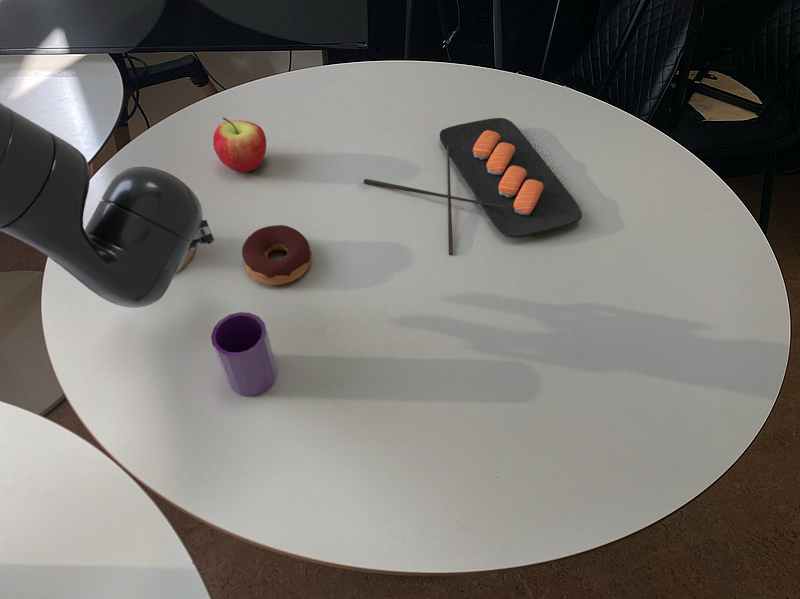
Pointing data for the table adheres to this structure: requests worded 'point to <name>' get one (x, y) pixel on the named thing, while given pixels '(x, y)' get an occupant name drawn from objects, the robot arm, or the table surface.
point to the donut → (283, 268)
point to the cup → (244, 353)
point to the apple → (240, 144)
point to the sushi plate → (504, 179)
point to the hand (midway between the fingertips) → (153, 252)
